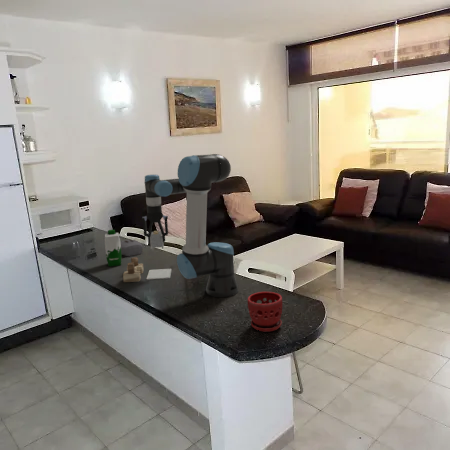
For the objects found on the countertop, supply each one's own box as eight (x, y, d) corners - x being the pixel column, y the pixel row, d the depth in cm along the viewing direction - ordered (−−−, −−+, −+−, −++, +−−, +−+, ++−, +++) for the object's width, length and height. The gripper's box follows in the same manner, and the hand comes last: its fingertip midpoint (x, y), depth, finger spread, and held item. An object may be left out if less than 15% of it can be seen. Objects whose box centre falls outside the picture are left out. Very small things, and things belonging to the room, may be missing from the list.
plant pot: (281, 318, 162) (280, 290, 159) (284, 334, 149) (283, 303, 146) (248, 318, 162) (247, 290, 160) (248, 334, 150) (247, 304, 147)
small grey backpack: (146, 253, 259) (134, 247, 275) (145, 241, 257) (133, 235, 273) (123, 258, 251) (112, 251, 267) (121, 245, 249) (111, 238, 265)
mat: (169, 278, 212) (169, 277, 212) (146, 279, 211) (146, 278, 211) (171, 269, 225) (171, 268, 225) (149, 270, 225) (149, 269, 224)
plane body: (139, 281, 209) (137, 264, 207) (123, 282, 209) (122, 265, 207) (143, 270, 226) (142, 254, 224) (128, 271, 225) (127, 255, 223)
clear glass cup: (161, 247, 212) (160, 232, 210) (151, 247, 212) (150, 233, 210) (162, 244, 218) (161, 229, 216) (152, 244, 217) (151, 230, 216)
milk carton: (122, 261, 244) (119, 228, 240) (122, 265, 236) (119, 232, 231) (107, 262, 242) (103, 230, 238) (107, 267, 233) (103, 233, 229)
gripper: (172, 202, 214) (174, 245, 219) (137, 204, 213) (140, 247, 218) (171, 205, 207) (174, 249, 212) (135, 207, 206) (139, 251, 211)
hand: (157, 248), depth 215 cm, fingers closed on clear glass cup, 5 cm apart
